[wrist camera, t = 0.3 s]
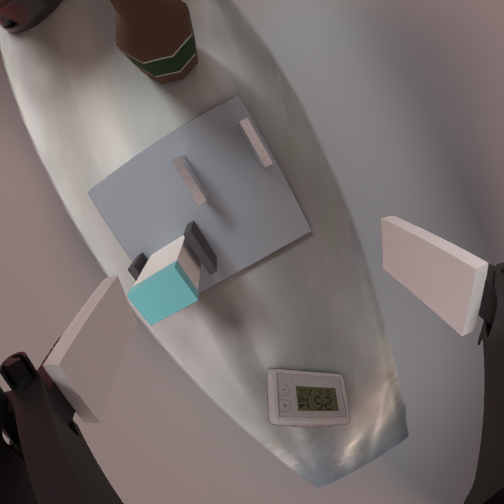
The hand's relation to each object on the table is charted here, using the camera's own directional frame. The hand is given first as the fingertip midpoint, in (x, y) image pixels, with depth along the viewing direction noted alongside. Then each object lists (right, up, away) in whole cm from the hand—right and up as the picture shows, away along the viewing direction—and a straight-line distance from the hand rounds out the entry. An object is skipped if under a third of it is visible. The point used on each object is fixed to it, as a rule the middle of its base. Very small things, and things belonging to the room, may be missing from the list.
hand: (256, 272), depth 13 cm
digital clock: (+9, -23, +38) cm, 46 cm away
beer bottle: (-11, +26, +18) cm, 34 cm away
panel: (-7, +7, +25) cm, 27 cm away
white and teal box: (-11, 0, +26) cm, 28 cm away
